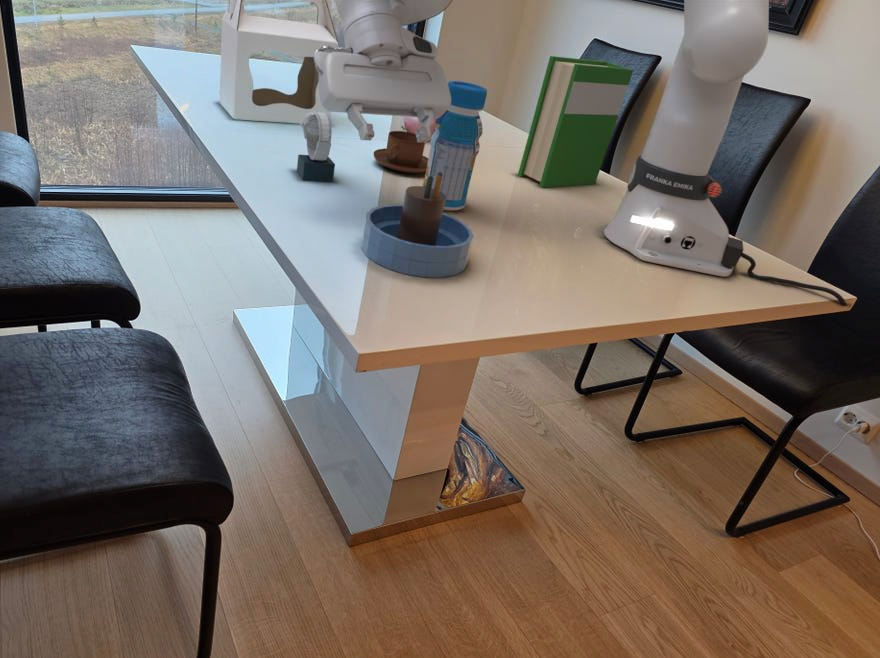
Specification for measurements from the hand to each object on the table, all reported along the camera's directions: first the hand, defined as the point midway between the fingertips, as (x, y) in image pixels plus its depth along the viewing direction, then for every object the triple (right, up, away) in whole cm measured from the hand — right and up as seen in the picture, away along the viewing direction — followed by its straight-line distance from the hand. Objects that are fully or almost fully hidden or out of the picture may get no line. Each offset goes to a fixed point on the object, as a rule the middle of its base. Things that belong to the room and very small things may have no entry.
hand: (396, 139), depth 96 cm
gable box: (-28, +24, +55) cm, 67 cm away
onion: (+5, +20, +61) cm, 64 cm away
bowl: (+2, -17, 0) cm, 17 cm away
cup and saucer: (+1, +7, +38) cm, 38 cm away
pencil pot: (+3, -16, 0) cm, 17 cm away
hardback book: (+35, +8, +51) cm, 62 cm away
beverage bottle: (+8, -4, +23) cm, 25 cm away
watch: (-15, +1, +23) cm, 28 cm away
